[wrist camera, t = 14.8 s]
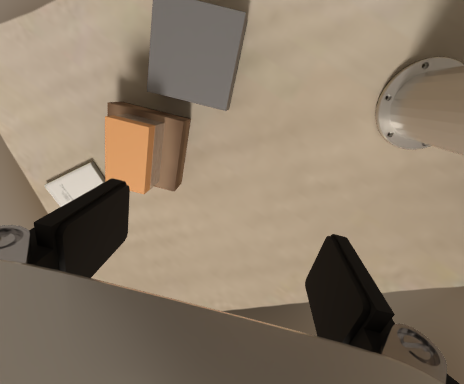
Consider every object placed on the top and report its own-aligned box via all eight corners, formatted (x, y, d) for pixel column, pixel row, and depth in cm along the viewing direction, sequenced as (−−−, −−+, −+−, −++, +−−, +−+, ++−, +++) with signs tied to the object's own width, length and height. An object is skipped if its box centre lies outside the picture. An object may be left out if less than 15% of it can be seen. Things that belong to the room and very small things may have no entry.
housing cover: (149, 189, 36) (144, 194, 34) (113, 179, 36) (105, 184, 34) (155, 125, 32) (149, 127, 30) (113, 115, 32) (105, 116, 30)
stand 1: (190, 119, 38) (183, 121, 35) (181, 183, 43) (174, 191, 40) (122, 101, 38) (107, 102, 35) (120, 167, 43) (107, 174, 40)
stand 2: (247, 21, 32) (245, 12, 29) (229, 109, 37) (225, 110, 33) (165, 1, 32) (153, -11, 29) (157, 91, 37) (146, 91, 34)
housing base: (159, 181, 39) (150, 189, 36) (125, 173, 39) (113, 180, 36) (164, 122, 35) (155, 125, 32) (127, 113, 35) (114, 115, 32)
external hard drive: (119, 196, 47) (74, 215, 50) (95, 160, 44) (49, 182, 47) (114, 199, 45) (68, 218, 48) (89, 162, 42) (42, 185, 45)
